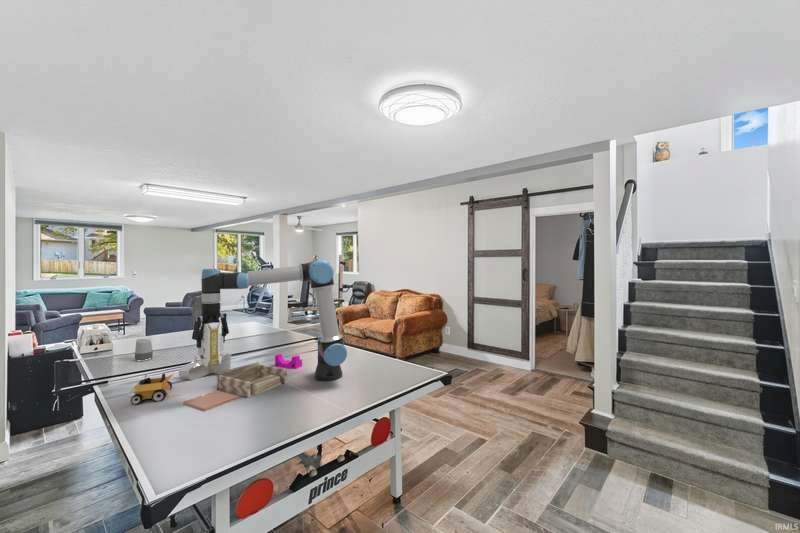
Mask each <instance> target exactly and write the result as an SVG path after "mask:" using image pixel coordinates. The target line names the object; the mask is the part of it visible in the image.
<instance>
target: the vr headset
mask: <svg viewBox="0 0 800 533" xmlns="http://www.w3.org/2000/svg"><path fill="white" fill-rule="evenodd" d="M212 373H213V371H212V369H211V366H208V367H205V366H204V365H202V363H201V360H200V359H199V360H198V358H197V356H194V361H192V362H189V363H186V364H184V365H183V366H181V367H180V368H179V371H178V377H179V379H183V380H190V381H193V380H197V379H200V378H203V377H206V376H209V375H210V374H212Z"/></svg>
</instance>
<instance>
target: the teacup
mask: <svg viewBox="0 0 800 533" xmlns="http://www.w3.org/2000/svg"><path fill="white" fill-rule="evenodd" d="M231 357H232V354H231V353H229V352H228V353H224V354H223V353H222V359H221V364H219V365H214V366H211V369H212V373H213V374H214V375H218V373H221V372H225V371H228V370H231V366H232V365H231V359H232V358H231Z"/></svg>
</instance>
